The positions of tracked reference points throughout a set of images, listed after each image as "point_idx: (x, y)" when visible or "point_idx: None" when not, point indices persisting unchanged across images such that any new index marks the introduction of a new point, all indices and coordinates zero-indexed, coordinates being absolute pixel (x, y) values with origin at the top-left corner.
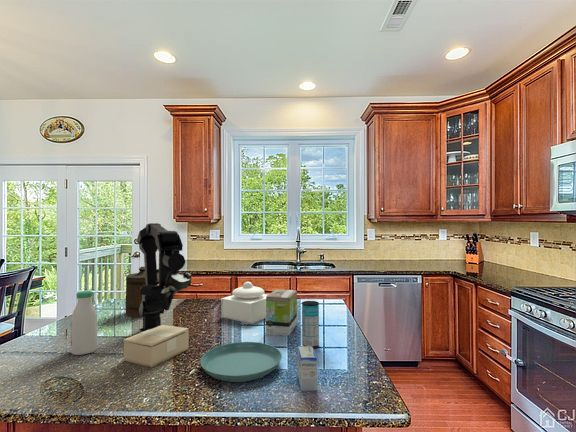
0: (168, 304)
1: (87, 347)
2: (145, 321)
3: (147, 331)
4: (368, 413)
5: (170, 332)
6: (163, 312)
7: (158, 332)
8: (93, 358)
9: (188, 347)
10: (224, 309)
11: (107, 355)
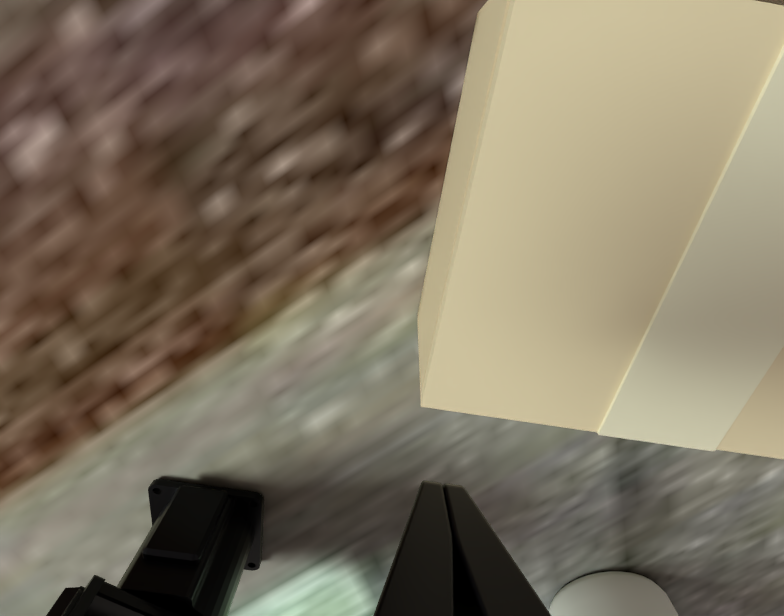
0: (476, 571)
1: (665, 610)
2: (234, 594)
3: (665, 414)
4: None
5: (724, 138)
6: (92, 583)
7: (721, 286)
8: (701, 522)
9: (480, 11)
10: None
11: (657, 490)
